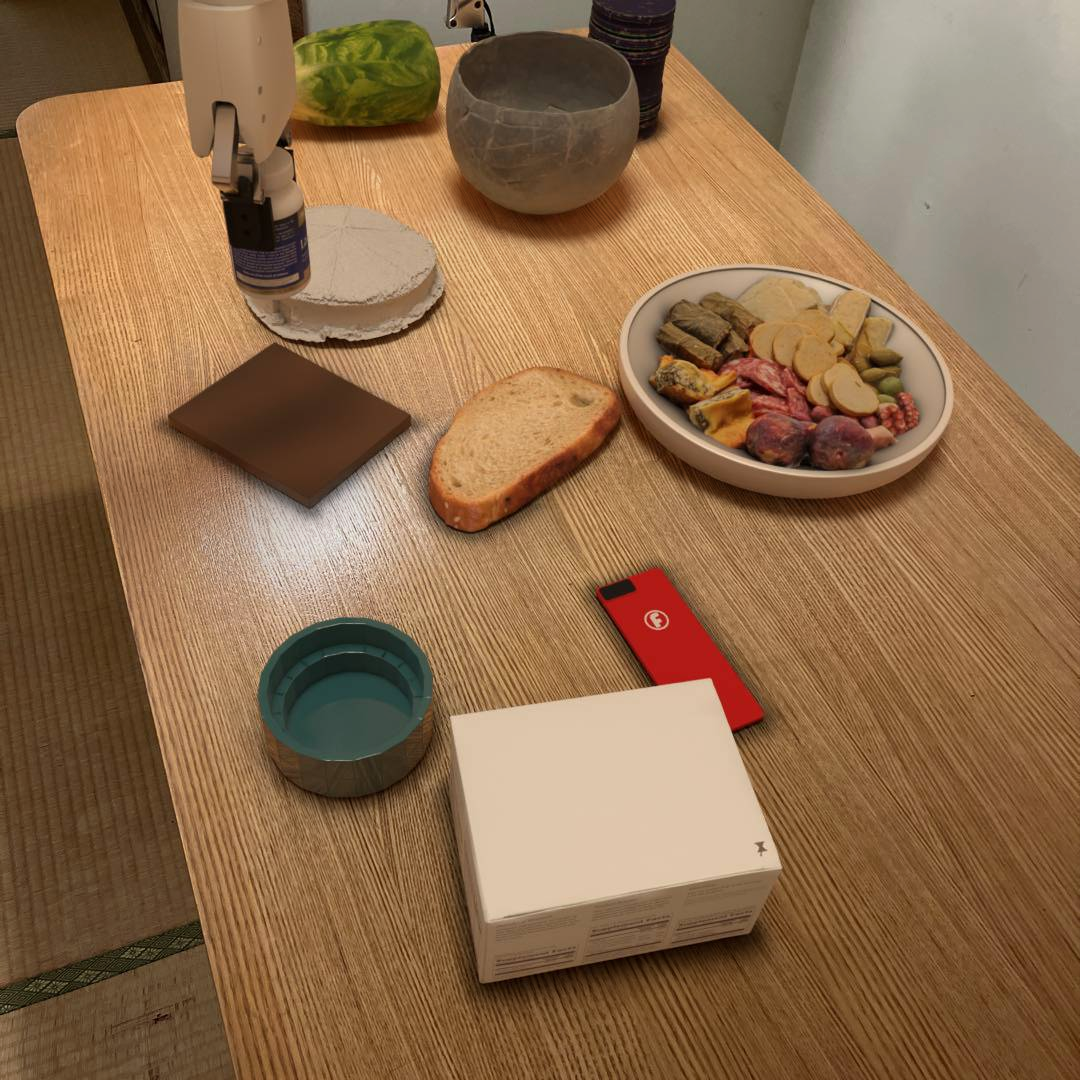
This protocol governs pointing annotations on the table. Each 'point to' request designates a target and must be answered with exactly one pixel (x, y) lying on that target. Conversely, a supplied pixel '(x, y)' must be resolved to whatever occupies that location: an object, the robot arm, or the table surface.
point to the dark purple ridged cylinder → (638, 46)
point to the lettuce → (366, 75)
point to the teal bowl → (347, 706)
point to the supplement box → (605, 828)
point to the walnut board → (290, 423)
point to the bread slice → (517, 443)
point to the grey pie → (357, 278)
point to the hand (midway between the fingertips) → (264, 220)
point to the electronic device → (674, 641)
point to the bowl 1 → (542, 119)
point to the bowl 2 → (783, 380)
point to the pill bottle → (290, 258)
